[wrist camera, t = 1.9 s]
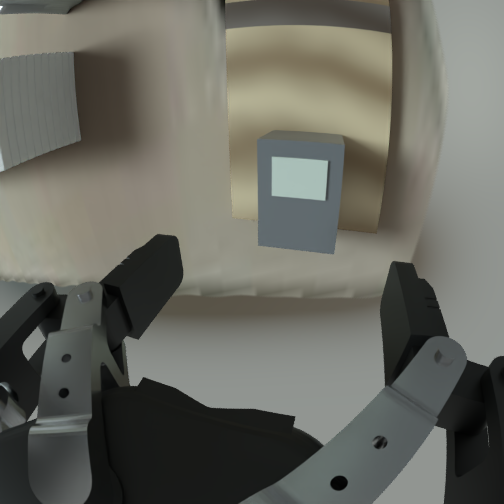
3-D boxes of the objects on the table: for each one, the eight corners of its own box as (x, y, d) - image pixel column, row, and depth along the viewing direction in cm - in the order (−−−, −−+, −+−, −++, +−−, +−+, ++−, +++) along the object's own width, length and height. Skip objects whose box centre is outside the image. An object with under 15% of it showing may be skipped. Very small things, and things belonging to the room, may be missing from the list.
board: (375, 227, 23) (376, 233, 22) (236, 212, 26) (232, 218, 25) (379, -45, 11) (381, -51, 10) (229, -45, 14) (224, -50, 13)
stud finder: (334, 222, 22) (333, 255, 18) (273, 216, 24) (257, 246, 19) (341, 134, 19) (344, 145, 15) (273, 130, 20) (256, 139, 16)
